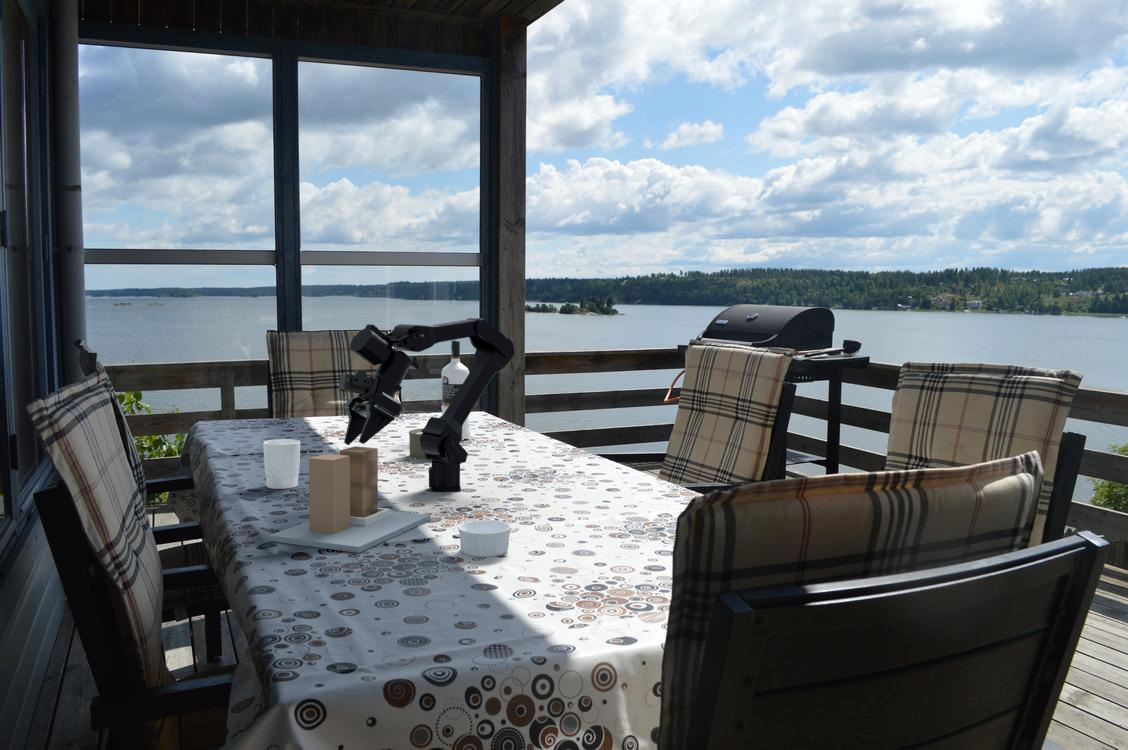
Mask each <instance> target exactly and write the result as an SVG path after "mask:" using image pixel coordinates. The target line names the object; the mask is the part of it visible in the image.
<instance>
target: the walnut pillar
mask: <svg viewBox="0 0 1128 750" xmlns="http://www.w3.org/2000/svg"><path fill="white" fill-rule="evenodd" d="M378 450H379V448H378V447H366V446H351V447H347V448H344V449H340V450H339V454H338V455H346V456H350V516H353V517H362V518H365V517H368V516H370V515H373V514H375V513H378V508H379V496H378V495H379V493H378V492H379V486H378V485H379V484H378V483H379V480H378V479H379V478H378V477H379V476H378V474H379V471H378V469H379V468H378V467H379V466H378V465H379V458H378V457H379V455H378V454H379V453H378V452H379V451H378Z"/></svg>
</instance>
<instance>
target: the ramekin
mask: <svg viewBox="0 0 1128 750" xmlns="http://www.w3.org/2000/svg"><path fill="white" fill-rule="evenodd" d="M457 528H458V532H459V543H460V544H459V546H460V551H461V552H462V554H464V555H466V556H470V557H473V558H474V557H475V558H476V557H477V558H493V557H498V556H502V555H505V554H506V553H507V552H508V550H509V546H510V545H509V544H510V533H511V530H512V526H511V524H510V523H508V522H505V521H502V520H497V519H496V520H494V519H479V520H478V519H477V520H476V519H475V520H471V521H466V522H462V523H461V524H459V525H458V527H457Z"/></svg>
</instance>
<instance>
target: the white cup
mask: <svg viewBox="0 0 1128 750" xmlns="http://www.w3.org/2000/svg"><path fill="white" fill-rule="evenodd" d="M262 445H263V463H264V474H265V479H266V480H265V483H266V485H265V486H266V487H267V488H268V489H275V490H284V489H285V490H287V489H292V488H293V489H294V488H295V487H297V486H299V474H300V465H301V464H300V463H301V461H300V460H301V457H300V456H301V440H299V439H291V438H281V439H280V438H279V439H276V438H275V439H269V440H265V441H263V444H262Z"/></svg>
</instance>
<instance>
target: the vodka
mask: <svg viewBox="0 0 1128 750" xmlns="http://www.w3.org/2000/svg"><path fill="white" fill-rule="evenodd" d="M450 342H451V346H450V347H451V350H450V351H451V352H450V353H451V354H450V358H451V360H450V363H448V364H447V365H445V366H444V367H443V368H442V370H441V373H440V374H441V375H440V376H441V416H442V415H443V414H444V413H445V411H446V410H447V408H448V406H449V405H450V403H451V402H452V400H453V399H454V397H455V395H456V394H457V392H458V391H459V389H460V387H461V386H462V384H463V383H464V381H465V379H466V378H467V376H468V375H469V373H470V370H469V368H468V367H467V366H465V365H464V364H463V363H461V351H460V350H461V348H460V345H461V343H460V342H461V341H460V340H458V339H455V340H450ZM470 437H471V429H470V422H469V416H468V417H467V419H466V420H465V422H464V424H463V426H462V439H461V441H464V440H463V439H467V440H468V439H470Z"/></svg>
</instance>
